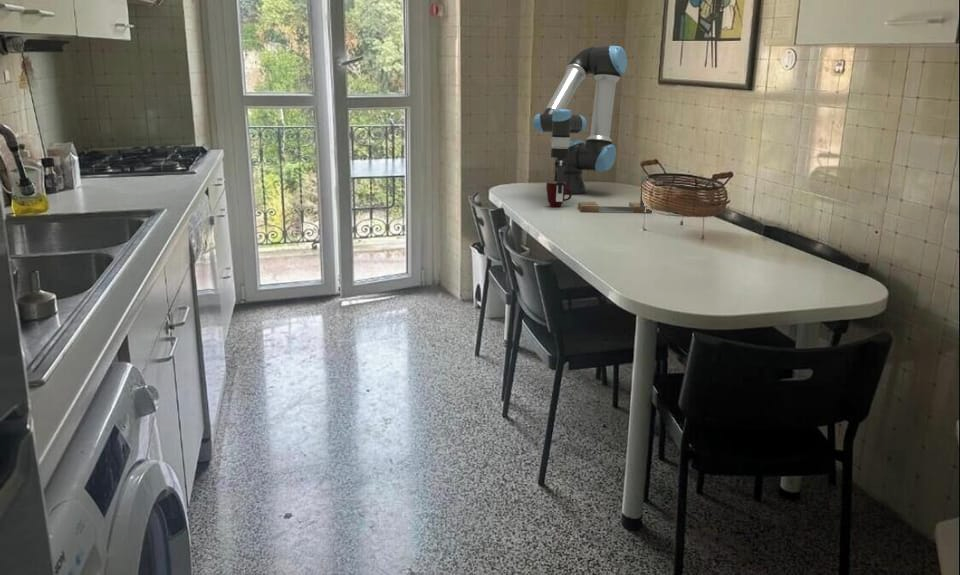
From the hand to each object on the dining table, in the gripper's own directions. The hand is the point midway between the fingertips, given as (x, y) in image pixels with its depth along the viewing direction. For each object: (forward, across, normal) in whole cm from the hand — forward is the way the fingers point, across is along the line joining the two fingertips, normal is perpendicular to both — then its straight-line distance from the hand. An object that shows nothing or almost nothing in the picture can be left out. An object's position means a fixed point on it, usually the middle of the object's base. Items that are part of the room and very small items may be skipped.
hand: (558, 199), depth 301 cm
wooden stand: (+3, +9, +22) cm, 24 cm away
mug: (+3, 0, 0) cm, 3 cm away
